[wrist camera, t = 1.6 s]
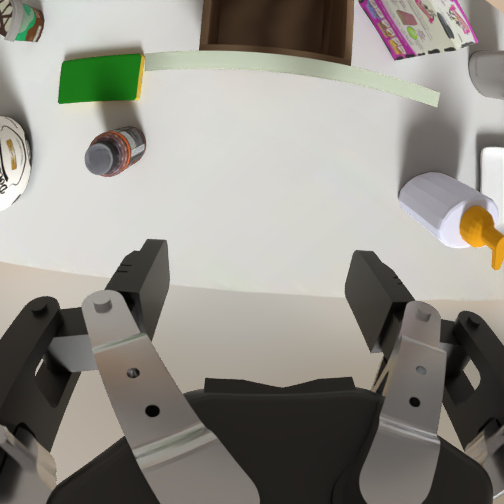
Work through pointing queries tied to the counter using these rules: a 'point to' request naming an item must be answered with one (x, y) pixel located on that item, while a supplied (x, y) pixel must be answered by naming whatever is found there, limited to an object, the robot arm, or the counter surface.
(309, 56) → the walnut box
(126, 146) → the supplement bottle
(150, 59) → the lid
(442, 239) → the soap bottle
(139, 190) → the counter surface
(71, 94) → the dish sponge
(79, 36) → the counter surface
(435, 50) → the candy bar box
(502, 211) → the salad plate
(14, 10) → the food container
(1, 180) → the milk container
